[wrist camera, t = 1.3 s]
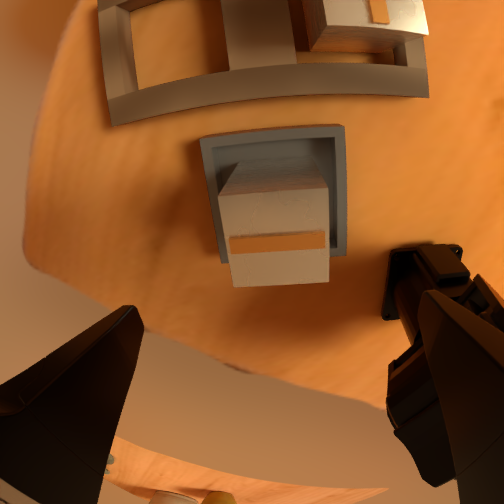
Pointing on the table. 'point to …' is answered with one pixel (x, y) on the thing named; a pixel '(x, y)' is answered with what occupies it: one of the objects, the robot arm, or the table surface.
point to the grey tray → (281, 146)
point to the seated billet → (363, 24)
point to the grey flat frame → (245, 65)
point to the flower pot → (219, 498)
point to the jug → (170, 498)
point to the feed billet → (276, 222)
